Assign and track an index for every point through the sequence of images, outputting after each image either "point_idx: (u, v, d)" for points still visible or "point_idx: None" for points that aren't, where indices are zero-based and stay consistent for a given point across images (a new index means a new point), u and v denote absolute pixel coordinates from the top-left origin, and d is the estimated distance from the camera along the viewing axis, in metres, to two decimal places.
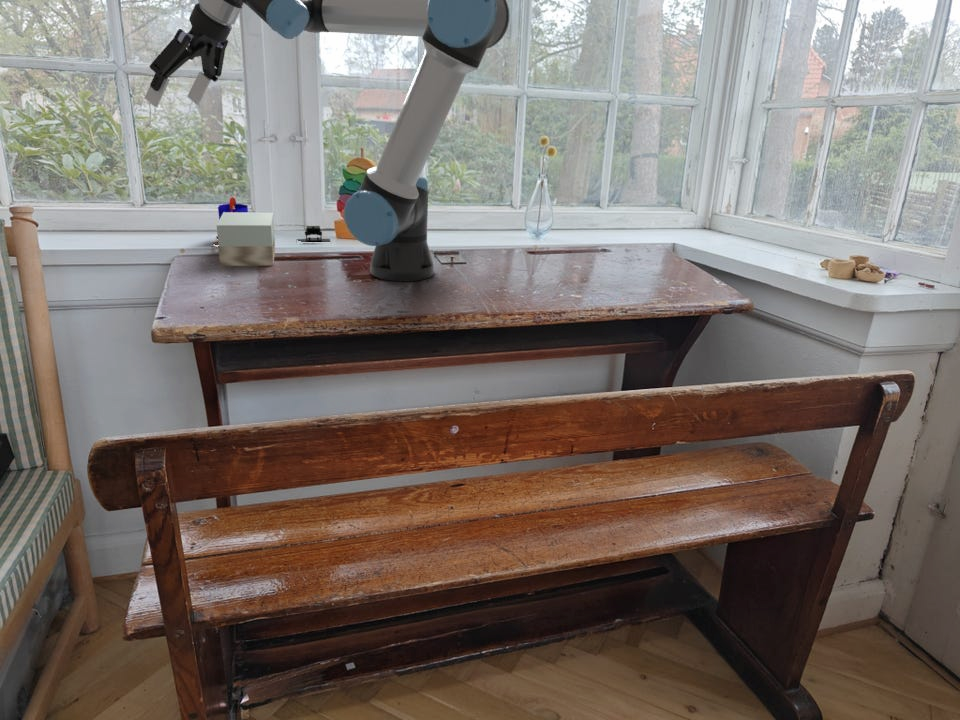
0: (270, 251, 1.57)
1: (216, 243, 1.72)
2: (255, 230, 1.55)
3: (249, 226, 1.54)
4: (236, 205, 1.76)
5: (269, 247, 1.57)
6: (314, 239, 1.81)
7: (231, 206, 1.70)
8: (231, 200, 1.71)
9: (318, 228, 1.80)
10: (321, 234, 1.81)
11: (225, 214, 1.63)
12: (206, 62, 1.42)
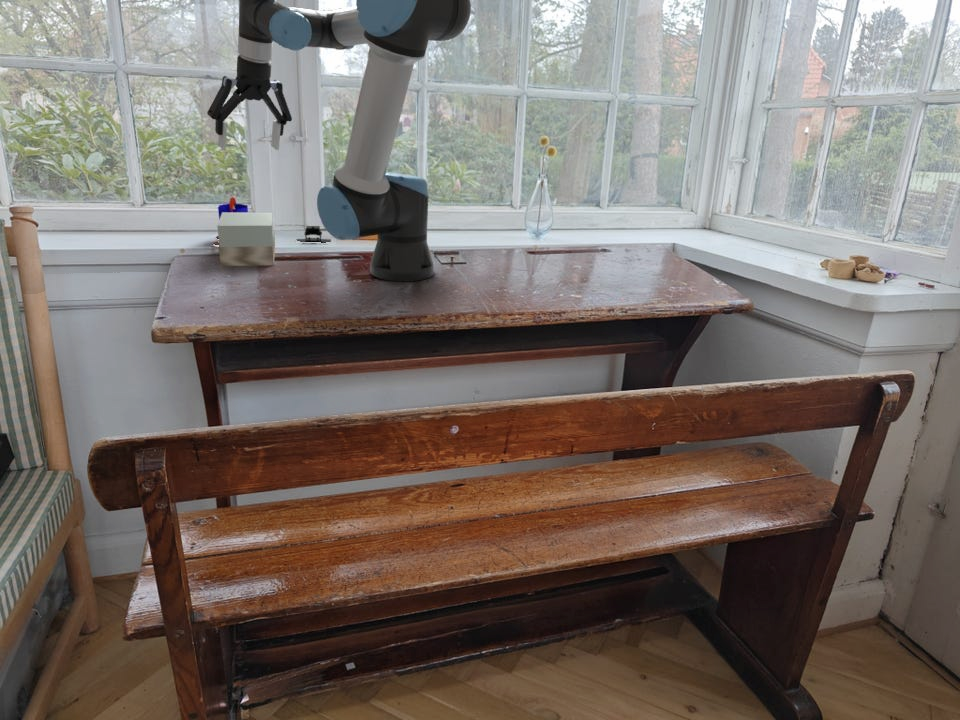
0: (270, 251, 1.57)
1: (216, 243, 1.72)
2: (256, 230, 1.55)
3: (250, 226, 1.54)
4: (236, 205, 1.76)
5: (269, 247, 1.57)
6: (314, 239, 1.81)
7: (231, 206, 1.70)
8: (231, 200, 1.71)
9: (317, 228, 1.79)
10: (320, 234, 1.80)
11: (224, 214, 1.63)
12: (269, 107, 1.61)
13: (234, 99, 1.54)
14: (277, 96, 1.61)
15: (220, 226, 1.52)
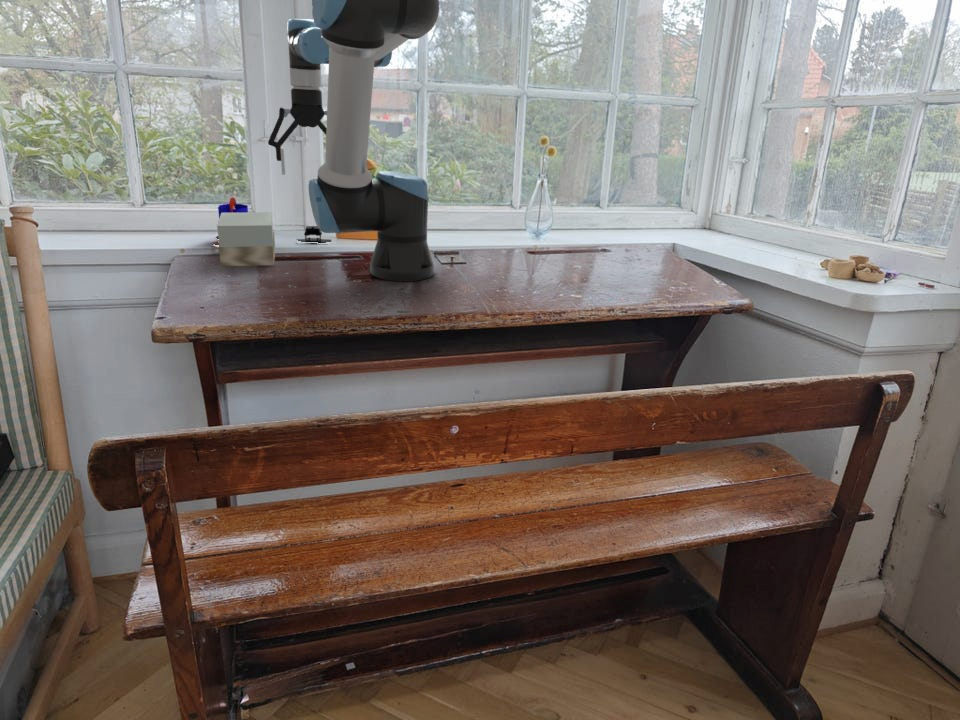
0: (271, 251, 1.58)
1: (216, 243, 1.72)
2: (256, 230, 1.55)
3: (250, 226, 1.54)
4: (236, 205, 1.76)
5: (270, 247, 1.57)
6: (314, 239, 1.81)
7: (231, 206, 1.70)
8: (231, 200, 1.71)
9: (317, 228, 1.79)
10: (320, 235, 1.80)
11: (223, 214, 1.63)
12: None
13: (289, 127, 1.68)
14: None
15: (220, 226, 1.52)
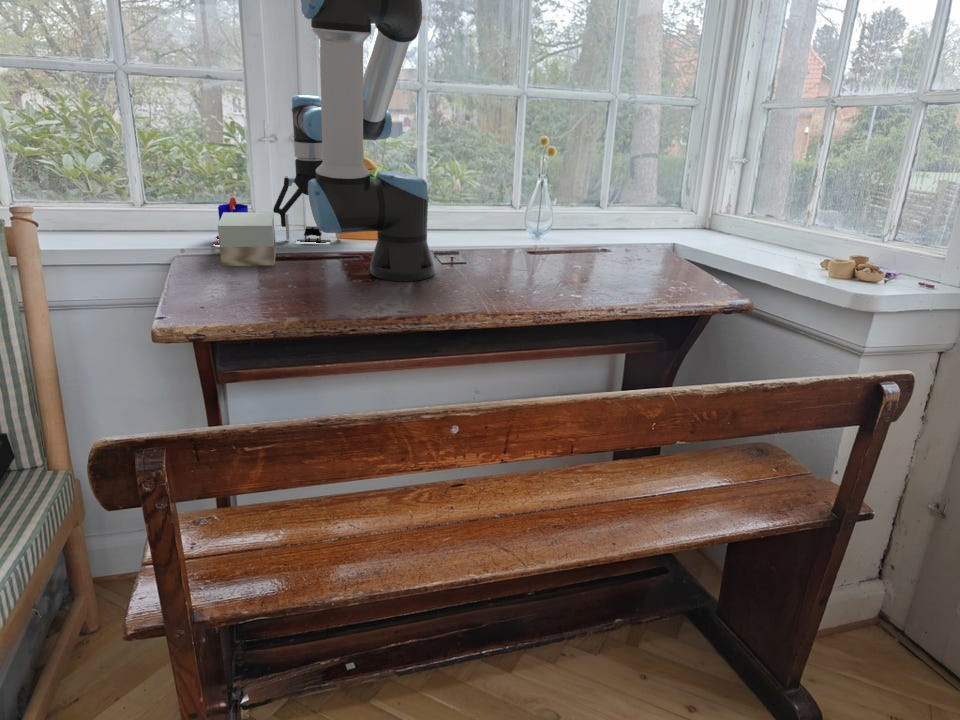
0: (271, 251, 1.58)
1: (216, 243, 1.72)
2: (256, 230, 1.55)
3: (250, 226, 1.54)
4: (236, 205, 1.77)
5: (270, 247, 1.57)
6: (313, 240, 1.81)
7: (231, 206, 1.70)
8: (231, 200, 1.71)
9: (317, 229, 1.79)
10: (320, 235, 1.80)
11: (225, 214, 1.63)
12: None
13: (293, 195, 1.75)
14: None
15: (220, 226, 1.52)
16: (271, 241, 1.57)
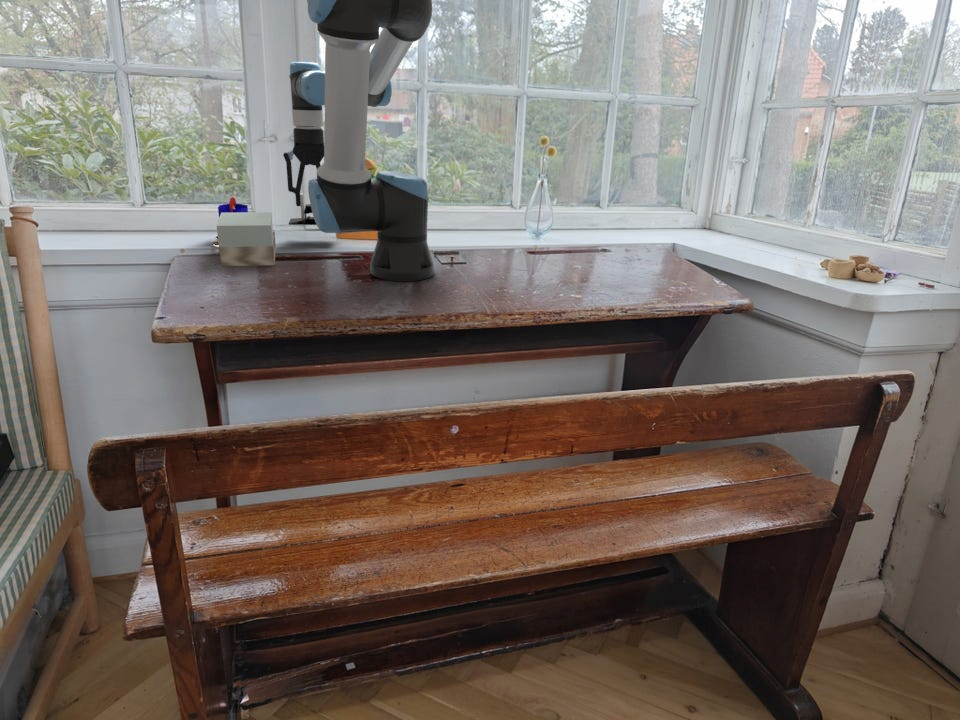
0: (271, 251, 1.58)
1: (216, 243, 1.72)
2: (255, 230, 1.55)
3: (249, 226, 1.54)
4: (236, 205, 1.76)
5: (270, 247, 1.57)
6: (313, 218, 1.77)
7: (231, 206, 1.70)
8: (231, 200, 1.71)
9: None
10: None
11: (223, 214, 1.63)
12: None
13: (299, 170, 1.73)
14: None
15: (219, 226, 1.52)
16: (270, 241, 1.57)
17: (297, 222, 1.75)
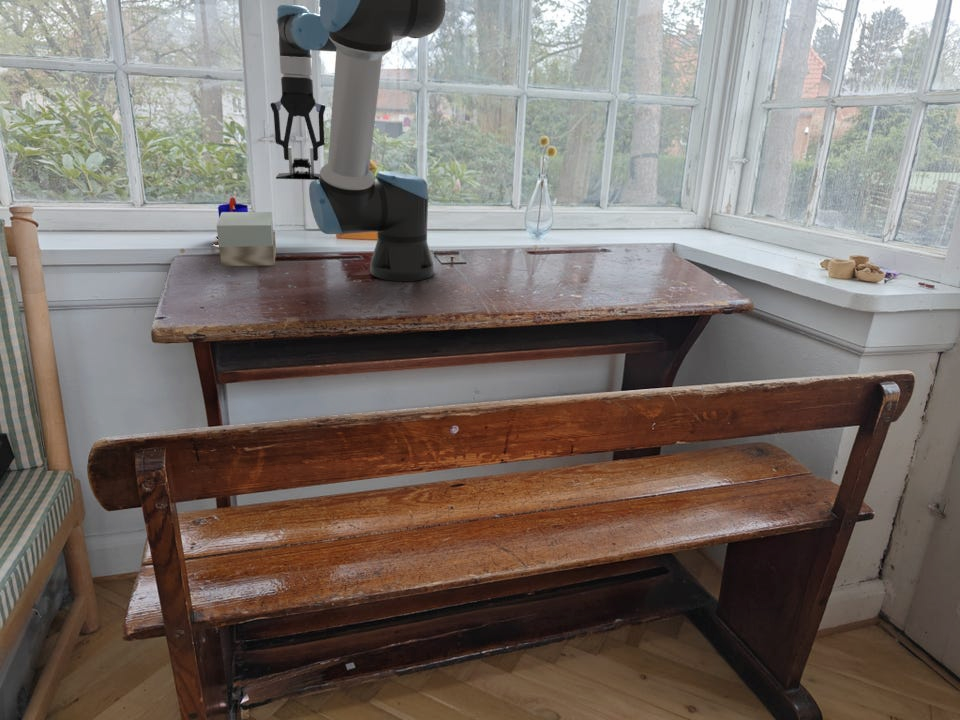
0: (271, 251, 1.58)
1: (216, 243, 1.72)
2: (256, 230, 1.55)
3: (249, 226, 1.54)
4: (236, 205, 1.76)
5: (270, 247, 1.57)
6: (302, 172, 1.70)
7: (231, 206, 1.70)
8: (231, 200, 1.71)
9: (306, 160, 1.69)
10: (309, 167, 1.70)
11: (224, 214, 1.63)
12: (307, 127, 1.68)
13: (287, 121, 1.66)
14: None
15: (219, 226, 1.52)
16: (270, 241, 1.57)
17: (285, 176, 1.68)
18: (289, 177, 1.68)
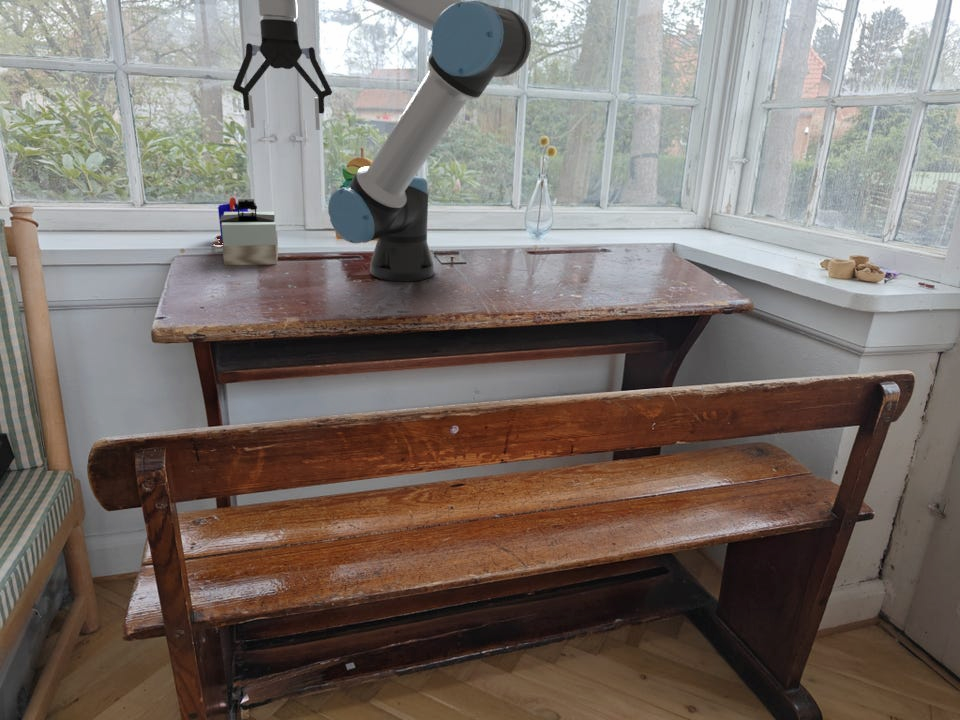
0: (274, 250, 1.58)
1: (216, 243, 1.72)
2: (260, 229, 1.56)
3: (254, 225, 1.55)
4: (236, 205, 1.76)
5: (273, 246, 1.58)
6: (248, 214, 1.59)
7: (231, 206, 1.70)
8: (231, 200, 1.71)
9: (252, 201, 1.57)
10: (255, 208, 1.59)
11: (227, 214, 1.64)
12: None
13: (259, 68, 1.38)
14: None
15: (224, 225, 1.53)
16: (274, 240, 1.58)
17: (229, 219, 1.56)
18: (234, 220, 1.56)
